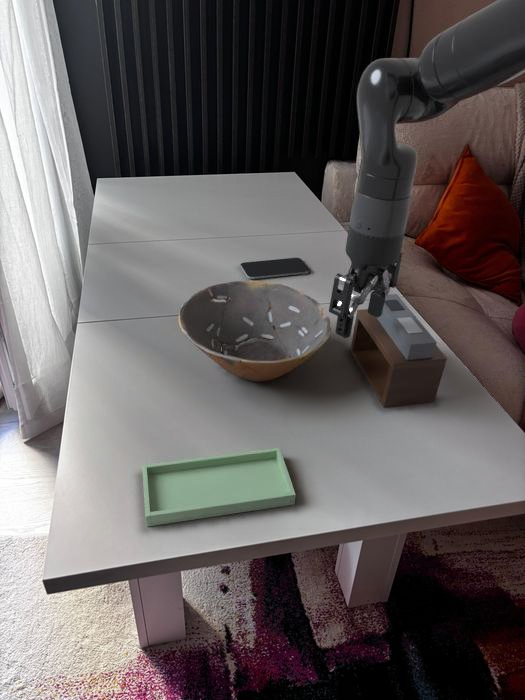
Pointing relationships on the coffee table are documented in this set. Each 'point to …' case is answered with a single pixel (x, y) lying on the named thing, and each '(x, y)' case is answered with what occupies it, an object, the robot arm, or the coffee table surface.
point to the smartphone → (274, 268)
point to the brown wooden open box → (393, 365)
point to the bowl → (255, 327)
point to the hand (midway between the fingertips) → (359, 324)
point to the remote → (406, 329)
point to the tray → (215, 486)
